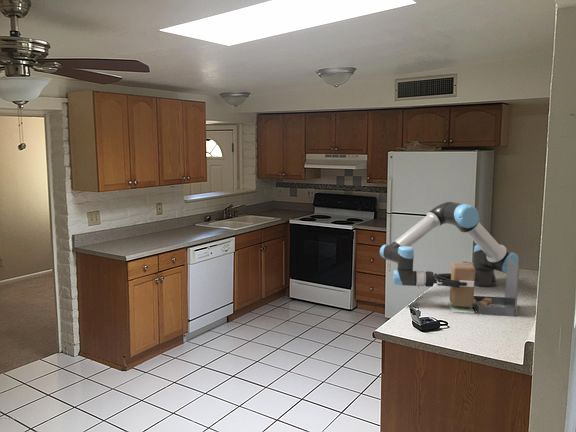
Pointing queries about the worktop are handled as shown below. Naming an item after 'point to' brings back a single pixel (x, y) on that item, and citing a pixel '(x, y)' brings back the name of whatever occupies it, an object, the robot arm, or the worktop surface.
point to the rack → (508, 300)
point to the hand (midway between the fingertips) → (471, 280)
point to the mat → (461, 309)
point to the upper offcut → (485, 302)
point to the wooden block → (462, 294)
